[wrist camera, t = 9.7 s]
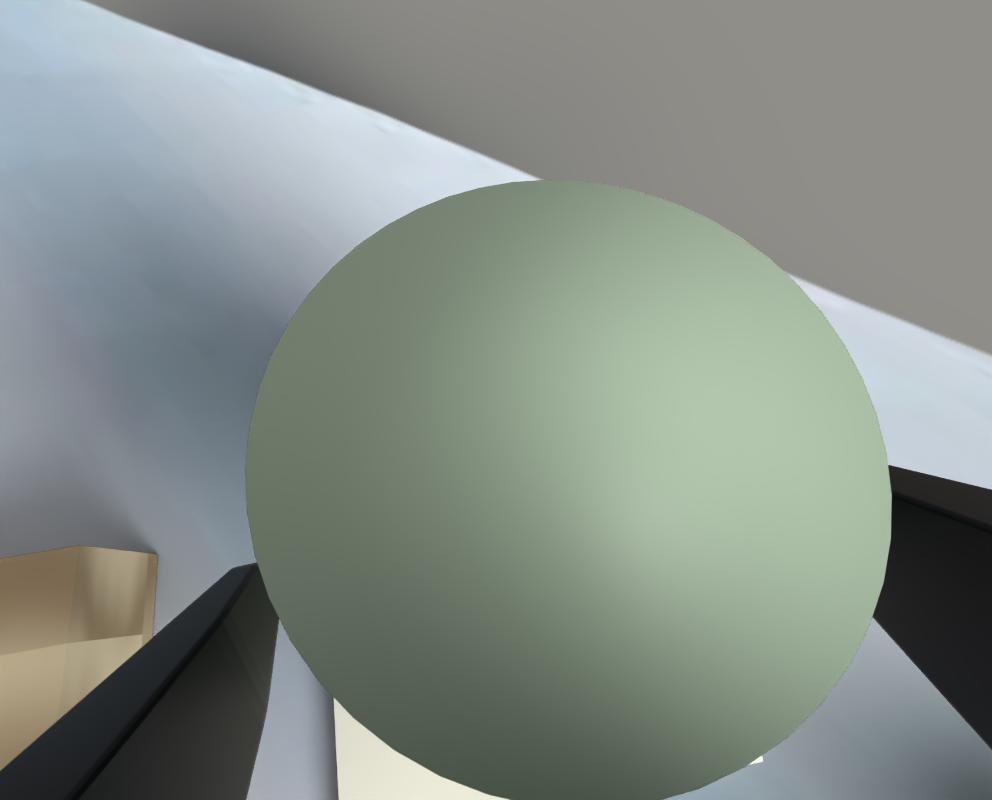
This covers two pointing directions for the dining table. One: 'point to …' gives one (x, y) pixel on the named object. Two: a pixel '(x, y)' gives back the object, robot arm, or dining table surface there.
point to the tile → (389, 769)
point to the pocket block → (66, 631)
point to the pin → (568, 493)
